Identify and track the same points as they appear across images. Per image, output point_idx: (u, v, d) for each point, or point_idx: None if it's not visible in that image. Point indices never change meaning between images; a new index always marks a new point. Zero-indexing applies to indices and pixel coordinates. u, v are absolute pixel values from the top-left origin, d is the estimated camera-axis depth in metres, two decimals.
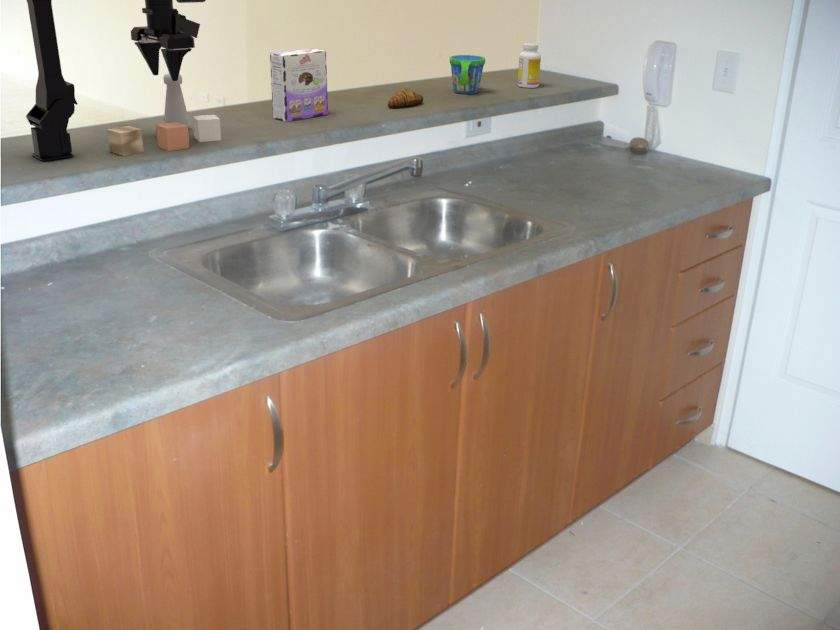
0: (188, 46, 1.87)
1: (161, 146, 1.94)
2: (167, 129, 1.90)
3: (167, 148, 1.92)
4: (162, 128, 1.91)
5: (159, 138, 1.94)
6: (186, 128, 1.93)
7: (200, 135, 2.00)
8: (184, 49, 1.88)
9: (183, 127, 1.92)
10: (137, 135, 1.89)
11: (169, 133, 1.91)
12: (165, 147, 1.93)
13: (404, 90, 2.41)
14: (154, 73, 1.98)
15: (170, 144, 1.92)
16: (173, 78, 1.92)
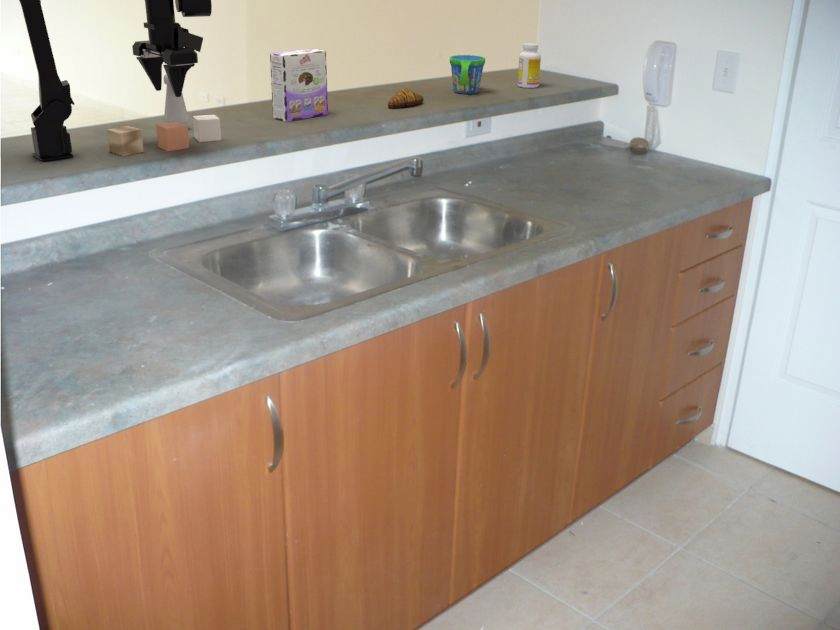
0: (191, 61, 1.82)
1: (161, 146, 1.94)
2: (167, 129, 1.90)
3: (167, 148, 1.92)
4: (162, 128, 1.91)
5: (159, 138, 1.94)
6: (186, 128, 1.93)
7: (200, 135, 2.00)
8: (187, 64, 1.83)
9: (183, 127, 1.92)
10: (137, 135, 1.89)
11: (169, 133, 1.91)
12: (165, 147, 1.93)
13: (404, 90, 2.41)
14: (157, 88, 1.93)
15: (170, 144, 1.92)
16: (176, 94, 1.86)
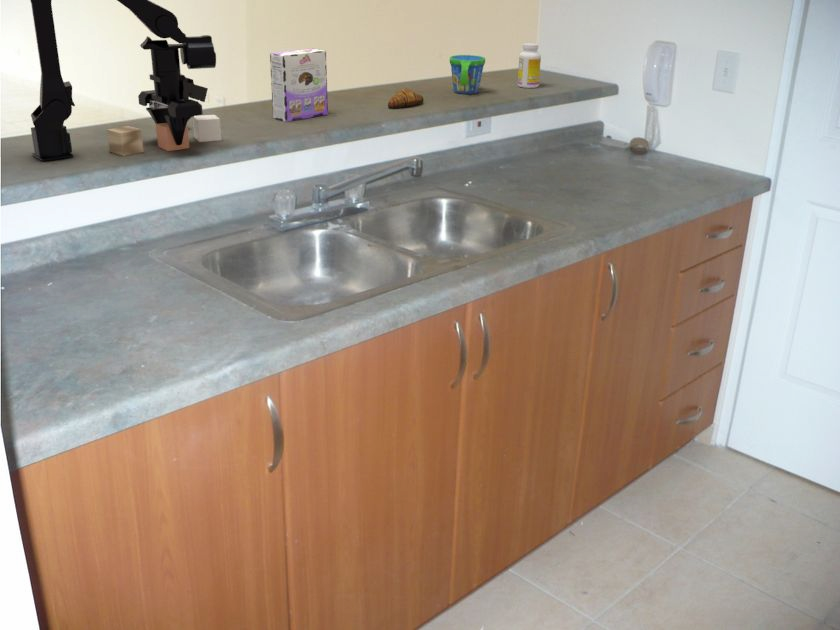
0: (196, 113, 1.86)
1: (161, 146, 1.94)
2: (167, 129, 1.90)
3: (167, 148, 1.92)
4: (162, 128, 1.91)
5: (159, 137, 1.94)
6: (186, 128, 1.93)
7: (200, 135, 2.00)
8: None
9: None
10: (137, 135, 1.89)
11: (169, 132, 1.91)
12: (165, 147, 1.93)
13: (404, 91, 2.41)
14: None
15: (170, 144, 1.92)
16: (177, 142, 1.92)
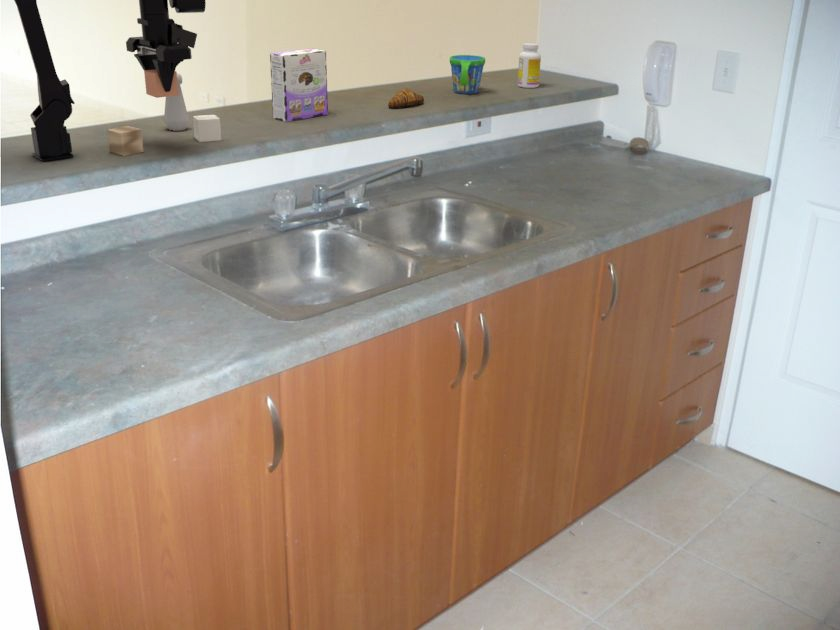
0: (185, 57, 1.81)
1: (149, 93, 1.89)
2: (155, 74, 1.86)
3: (155, 94, 1.87)
4: (150, 73, 1.87)
5: (148, 84, 1.89)
6: (175, 74, 1.88)
7: (200, 135, 2.00)
8: (176, 59, 1.84)
9: None
10: (137, 135, 1.89)
11: (157, 78, 1.86)
12: (153, 93, 1.88)
13: (405, 91, 2.41)
14: None
15: (158, 90, 1.87)
16: (166, 89, 1.88)
